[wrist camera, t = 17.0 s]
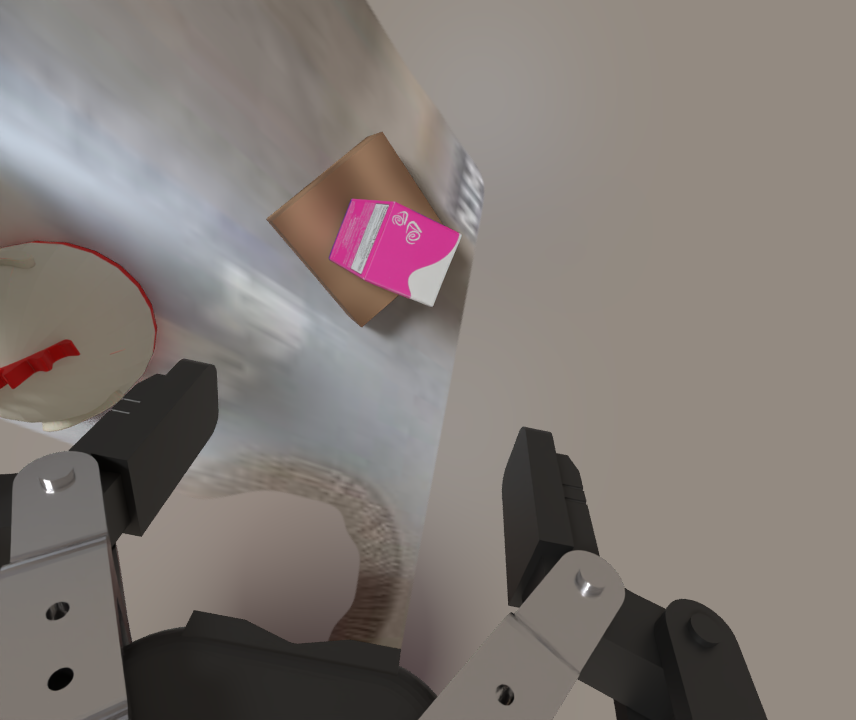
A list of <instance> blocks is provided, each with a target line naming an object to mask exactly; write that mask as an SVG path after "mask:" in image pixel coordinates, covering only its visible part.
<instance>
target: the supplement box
mask: <svg viewBox="0 0 856 720" xmlns="http://www.w3.org/2000/svg"><path fill="white" fill-rule="evenodd" d="M461 237H462V235H461V234H460V233H458V232H456V231H454V230H452V229H450V228H448V227H446V226H444V225H442V224H440V223H438V222H436V221H434V220H432V219H430V218H428V217H426V216H424V215H422V214H420V213H418V212H416V211H414V210H412V209H410V208H407V207H405V206H403V205H401V204H399V203H397V202H395V201H379V200H365V199H351V201H350V203H349V206H348V209H347V211H346V214H345V217H344V219H343V222H342V224H341V227H340V229H339V232H338V234H337V237H336V239H335V242H334V245H333V247H332V250H331V253H330V255H329V260H330V261H332V262H334V263H336V264H337V265H339V266H341V267H343V268H344V269H346V270H348V271H349V272H351V273H353V274H354V275H356V276H358V277H359V278H361V279H363V280H365V281H367V282H369V283H371V284H373V285H376V286H378V287H381V288H383V289H386V290H388V291H391V292H393V293H396V294H399V295H401V296H404V297H406V298H409V299H412V300H414V301H417V302H419V303H422V304H425V305H427V306H430V307H433V305H434V302H435V300H436V297H437V295H438V292H439V290H440V287H441V285H442V282H443V280H444V277H445V275H446V272H447V270H448V268H449V265H450V263H451V261H452V258H453V256H454V254H455V251H456V249H457V246H458V244H459V242H460V239H461Z"/></svg>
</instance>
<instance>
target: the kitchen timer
mask: <svg viewBox="0 0 856 720" xmlns="http://www.w3.org/2000/svg"><path fill="white" fill-rule="evenodd" d="M156 331H157V325H156V321H155V316H154V312H153V308H152V304H151V303H150V301H149V299H148V297H147V296H146V294H145V292H144V291H143V289H142V287H141V285H140V284H139V283H138V282H137V281H136V280H135V279H134V278H133V277H132V276H131V275H130V274H129V273H128V272H127V271H126V270H125V269H124V268H123V267H122V266H121V265H119V264H117V263H115V262H114V261H112V260H110V259H109V258H107V257H105V256H103V255H102V254H100V253H98V252H96V251H94V250H90V249H87V248H83V247H80V246H77V245H73V244H70V243H66V242H48V241H33V242H28V243H22V244H17V245H12V246H7V247H3V248H0V417H2V418H5V419H11V420H18V421H24V422H31V423H34V422H42V423H43V430H44V431H47V432H52V431H59V430H63V429H66V428H69V427H72V426H74V425H76V424H78V423H81V422H83V421H85V420H87V419H89V418H91V417H94V416H96V415H98V414H100V413H102V412H103V411H105V410H107V409H109V408H110V407H112V406H113V405H114V404H116V403H117V402H118V401H119V400H120V399H121V398H123V397H124V394H125V393H126V392H127V391H128V390H129V389H130V388H131V387H132V386H133V385H134V384H135V382H136V381H137V380H138V379H139V378H140V377H141V376H142V375H143V373H144V371H145V369H146V367H147V365H148V363H149V361H150V359H151V357H152V354H153V352H154V349H155V340H156Z"/></svg>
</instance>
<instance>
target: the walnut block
mask: <svg viewBox="0 0 856 720" xmlns="http://www.w3.org/2000/svg"><path fill="white" fill-rule="evenodd" d="M351 199H365V200H379V201H395V202H397V203H399V204H401V205H403V206H405V207H407V208H410V209H412V210H414V211H416V212H418V213H420V214H422V215H424V216H426V217H428V218H430V219H432V220H434V221H436V222H438V223H440V224H442V223H441V221H440V220H439V218H438V216H437V215H436V213H435V212H434V210H433V209H432V207H431V206H430V204H429V203H428V201H427V200H426V198H425V197H424V195H423V193H422V192H421V190H420V189H419V187H418V186H417V184H416V183H415V181H414V180H413V178H412V177H411V175H410V174H409V172H408V170H407V169H406V167H405V166H404V164H403V163H402V161H401V160H400V158H399V157H398V155H397V154H396V152H395V151H394V149H393V147H392V146H391V144H390V143H389V141H388V140H387V138H386V137H385V135H384V134H383V132H380V133H377V134H374V135H371V136H369V137H366V138H365V139H364V140H363V141H362V142H360V143H359V144H358V145H357V146H355V147H354V148H353V149H352V150H350V151H349V152H348V153H347V154H346V155H344V156H343V157H342V158H341V159H339V160H338V161H337V162H336V163H335V164H333V165H332V166H331V167H330V168H328V169H327V170H326V171H325V172H323V173H322V174H321V175H320V176H319V177H317V178H316V179H315V180H314V181H312V182H311V183H310V184H309V185H307V186H306V187H305V188H304V189H303V190H301V191H300V192H299V193H298V194H296V195H295V196H294V197H293V198H291V199H290V200H289V201H288V202H287V203H285V204H284V205H283V206H282V207H280V208H279V209H278V210H277V211H275V212H274V213H273V214H272V215H271V216H269V217H268V218H267V219H266V220H267V221H268V222H269V223H270V224H271V225H272V227H273V228H274V229H275V230H276V231H277V233H278V234H279V235H280V236H281V237H282V238H283V240H284V241H285V242H286V243H287V244H288V245H289V247H290V248H291V249H292V250H293V251H294V253H295V254H296V255H297V256H298V257H299V258H300V260H301V261H302V262H303V263H304V264H305V265H306V267H307V268H308V269H309V270H310V271H311V272H312V274H313V275H314V276H315V277H316V278H317V280H318V281H319V282H320V283H321V284H322V285H323V287H324V288H325V289H326V290H327V291H328V292H329V294H330V295H331V296H332V297H333V298H334V300H335V301H336V302H337V303H338V304H339V305H340V307H341V308H342V309H343V310H344V311H345V312H346V314H347V315H348V316H349V317H350V318H351V319H352V320H353V321H355V322H356V323H357V324H358V325H359V326H360V327H363V326H364V325H365V324H366V323H367V322H368V321H370V320H371V319H372V318H373V317H374V316H375V315H376V314H378V313H379V312H380V311H381V310H382V309H383V308H385V307H386V306H387V305H388V304H389V303H390V302H391V301H393V300H394V299H395V298H396V297H397V296H398V295H399V294H396V293H393V292H391V291H388V290H386V289H383V288H381V287H378V286H376V285H373V284H371V283H369V282H367V281H365V280H363V279H361V278H359V277H358V276H356V275H354V274H353V273H351V272H349V271H348V270H346V269H344V268H343V267H341V266H339V265H337V264H336V263H334V262H332V261H330V260H329V255H330V253H331V250H332V247H333V245H334V242H335V239H336V237H337V234H338V232H339V229H340V227H341V224H342V222H343V219H344V217H345V214H346V211H347V209H348V206H349V203H350V201H351ZM442 225H443V224H442Z"/></svg>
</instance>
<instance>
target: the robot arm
mask: <svg viewBox="0 0 856 720" xmlns="http://www.w3.org/2000/svg"><path fill="white" fill-rule="evenodd" d="M217 420H218V390H217V371H216V368H215V366H214V365H212V364H207V363H202V362H197V361H192V360H187V359H182V360H180V361H179V362H178V363H177V364H176V365H175V366H174V367H173V368H172V369H171V370H170V371H169V372H168V374H167V375H166V376H165V375H160V374H156V375H154V376H152V377H150V378H148V379H146V380H144V381H142V382H140V383H138V384H136V385H135V386H134V387H133V388H132V389H131V390H130V391H129V392H128V393H127V394H126V395H125V396H124V397H123V400H120V401H119V402H118V403H117V404H116V405H115V406H114V407H113V408H112V410H111V411H109V412H108V413H107V414H106V415H104V416H103V417H102V418H101V419H100V420H99V421H98V422H97V423H96V424H95V425H94V426H93V427H92V428H91V429H90V430H89V431H88V432H87V433H86V434H85V435H84V436H83V437H82V438H81V439H80V440H79V441H78V442H77V443H76V444H75V445H74V446H73V447H72V448H71V449H70V450H69V451H64V452H58V453H53V454H49V455H46V456H43V457H41V458H38V459H36V460H34V461H33V462H31V463H29V464H28V465H27V466H25V467H24V468H23V469H22V470H21V471H20V472H19V473H15V474H0V720H552V719H553V718H554V716H555V715H556V713H557V711H558V709H559V708H560V706H561V705H562V703H563V702H564V700H565V698H566V697H567V695H568V693H569V692H570V690H571V689H572V687H573V685H574V684H575V682H576V680H577V679H578V680H580V681H582V682H584V683H586V684H588V685H589V686H591V687H593V688H595V689H596V690H598V691H600V692H602V693H604V694H605V695H607V696H609V697H611V698H613V699H614V705H615V711H616V717H617V720H767V717H766V714H765V712H764V709H763V707H762V704H761V701H760V699H759V696H758V694H757V691H756V689H755V686H754V683H753V681H752V678H751V676H750V673H749V671H748V668H747V665H746V663H745V660H744V658H743V655H742V652H741V650H740V647H739V645H738V642H737V640H736V638H735V635H734V634H733V632H732V631H731V629H730V628H729V626H728V625H727V624H726V623H725V622H724V620H723V619H722V618H721V617H720V616H718V615H717V614H716V613H715V612H714V611H712V610H711V609H709V608H708V607H706V606H705V605H703V604H701V603H698V602H696V601H693V600H687V599H679V600H675V601H673V602H672V603H670V605H669V606H668V607H667V608H666V609H665V608H663V607H661V606H659V605H657V604H655V603H652V602H651V601H648V600H646V599H644V598H642V597H640V596H638V595H636V594H634V593H632V592H631V591H629V590H627V589H626V588H624V585H623V582H622V580H621V578H620V576H619V575H618V573H617V572H616V570H615V569H614V568H613V567H612V566H611V565H610V564H609V563H608V562H607V561H605V560H604V559H603V558H601V557H600V556H599V551H598V547H597V543H596V539H595V535H594V531H593V527H592V522H591V518H590V515H589V510H588V506H587V505H586V498H585V494H584V491H583V485H582V481H581V477H580V473H579V471H578V469H577V468H576V466H575V465H574V464H573V462H572V461H571V460H570V458H569V456H567V455H563V454H557V453H556V451H555V446H554V441H553V436H552V433H551V432H547V431H542V430H537V429H532V428H528V427H522V428H521V429H520V431H519V434H518V436H517V439H516V442H515V444H514V447H513V450H512V452H511V455H510V458H509V460H508V463H507V466H506V469H505V472H504V477H503V484H502V501H503V519H504V536H505V554H506V571H507V572H506V573H507V589H508V605H509V606H514V607H519V609H518V610H517V611H516V612H515V613H514V614H513V613H512V612H511V613H509V614H508V615H507V616H506V617H505V618H504V619H503V621H502V622H501V623H500V624H499V625H498V626H497V627H496V629H495V630H494V631H493V632H492V633H491V634H490V636H489V637H488V638H487V639H486V641H485V642H484V643H483V644H482V645H481V646H480V647H479V649H478V650H477V651H476V652H475V653H474V655H473V656H472V657H471V658H470V659H469V660H468V662H467V663H466V664H465V665H464V666H463V668H462V669H461V670H460V671H459V672H458V673H457V675H456V676H455V677H454V678H453V679H452V680H451V682H450V683H449V684H448V685H447V686H446V688H445V689H444V690H443V691H442V692H441V694H440V695H439V696H438V697H437V695H436V694H435V693H434V692H433V691H432V690H431V689H430V688H429V686H427V685H426V684H425V683H424V682H423V681H422V680H421V679H419V678H418V677H417V676H415V675H414V674H412V673H411V672H410V671H408V670H406V669H404V668H402V667H400V666H399V660H400V652H401V649H397V648H392V647H386V646H381V645H376V644H371V643H365V642H360V641H355V640H340V641H328V642H315V643H302V644H294V643H291V642H288V641H286V640H284V639H282V638H280V637H278V636H276V635H274V634H272V633H270V632H268V631H266V630H264V629H262V628H260V627H258V626H256V625H254V624H252V623H251V622H248V621H247V620H243V619H238V618H233V617H228V616H222V615H217V614H212V613H206V612H201V611H195V610H194V611H193V613H192V615H191V617H190V619H189V621H188V623H187V625H186V627H179V628H174V629H168V630H164V631H160V632H157V633H154V634H151V635H148V636H146V637H143V638H141V639H138V640H136V641H134V642H132V638H131V633H130V628H129V622H128V616H127V610H126V603H125V596H124V589H123V582H122V576H121V569H120V562H119V555H118V550H117V545H116V541H117V540H118V538H119V537H120V536H121V534H122V533H125V534H130V535H135V536H141V537H142V535H143V534H144V532H145V531H146V529H147V528H148V526H149V525H150V524H151V522H152V521H153V519H154V518H155V516H156V515H157V513H158V512H159V510H160V509H161V507H162V506H163V505H164V503H165V502H166V500H167V499H168V498H169V496H170V495H171V493H172V492H173V490H174V489H175V487H176V486H177V485H178V483H179V482H180V480H181V479H182V477H183V476H184V474H185V473H186V472H187V470H188V469H189V467H190V466H191V464H192V463H193V461H194V460H195V459H196V457H197V456H198V454H199V453H200V451H201V450H202V448H203V447H204V446H205V444H206V443H207V441H208V440H209V438H210V437H211V435H212V434H213V432H214V430H215V427H216V424H217Z"/></svg>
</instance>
